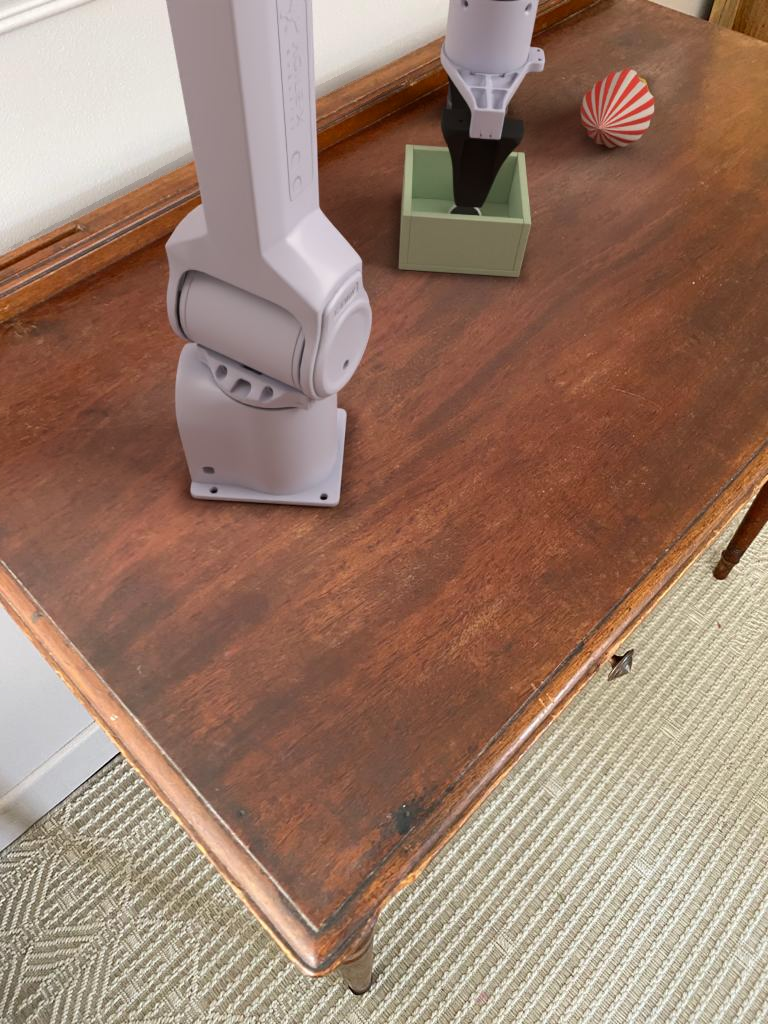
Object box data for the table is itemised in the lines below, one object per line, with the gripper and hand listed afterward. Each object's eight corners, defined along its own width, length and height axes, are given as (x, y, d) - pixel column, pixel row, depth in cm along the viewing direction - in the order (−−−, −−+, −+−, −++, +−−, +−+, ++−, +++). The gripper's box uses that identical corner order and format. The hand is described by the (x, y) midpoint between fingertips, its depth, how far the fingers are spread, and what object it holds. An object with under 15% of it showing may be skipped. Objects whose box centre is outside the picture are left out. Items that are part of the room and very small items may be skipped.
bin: (398, 269, 64) (403, 215, 60) (401, 198, 69) (405, 144, 65) (518, 277, 64) (531, 223, 60) (512, 206, 69) (524, 152, 65)
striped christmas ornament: (639, 127, 85) (593, 183, 71) (603, 77, 84) (549, 125, 70) (690, 84, 81) (652, 135, 67) (653, 31, 79) (606, 71, 65)
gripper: (569, 42, 47) (524, 237, 58) (551, -66, 55) (514, 124, 66) (449, 33, 46) (427, 230, 58) (448, -74, 54) (429, 118, 66)
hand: (467, 173), depth 62 cm, fingers open, 7 cm apart
